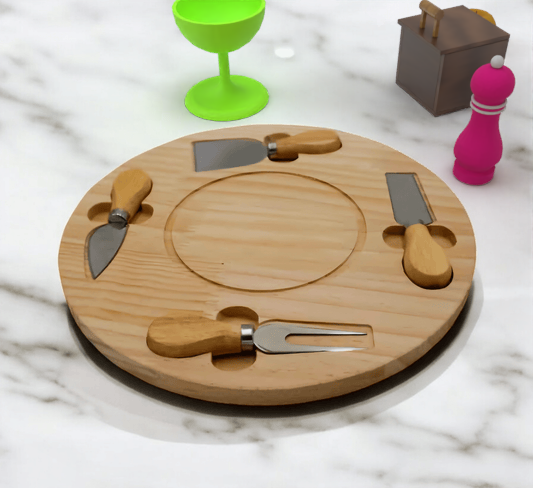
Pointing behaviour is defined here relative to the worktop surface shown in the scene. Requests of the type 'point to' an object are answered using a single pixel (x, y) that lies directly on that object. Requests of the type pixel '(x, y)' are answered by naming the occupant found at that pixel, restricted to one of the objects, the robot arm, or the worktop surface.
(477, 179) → the pepper mill
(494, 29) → the lid
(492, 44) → the chest
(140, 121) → the worktop surface
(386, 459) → the worktop surface
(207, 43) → the wineglass
